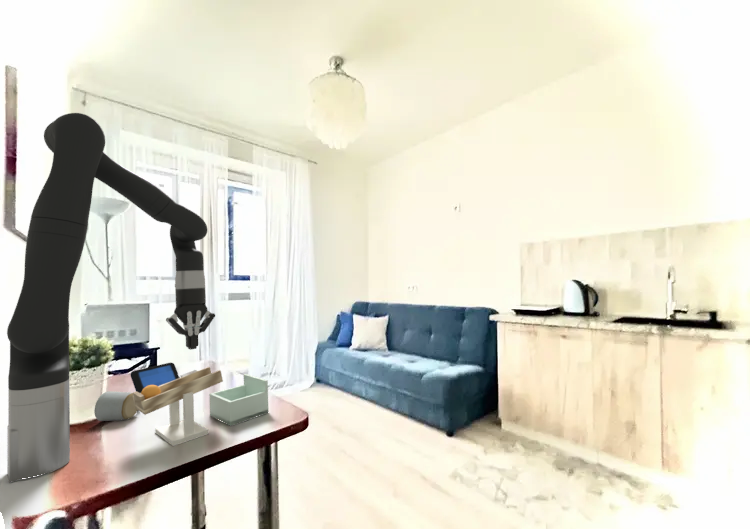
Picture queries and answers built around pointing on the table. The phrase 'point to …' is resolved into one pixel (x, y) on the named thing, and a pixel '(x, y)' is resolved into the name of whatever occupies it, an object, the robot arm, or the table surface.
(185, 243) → the robot arm
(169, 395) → the chute lever
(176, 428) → the chute stand
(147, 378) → the tablet display
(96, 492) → the table surface
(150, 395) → the ball
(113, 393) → the grey canister
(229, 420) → the bin
